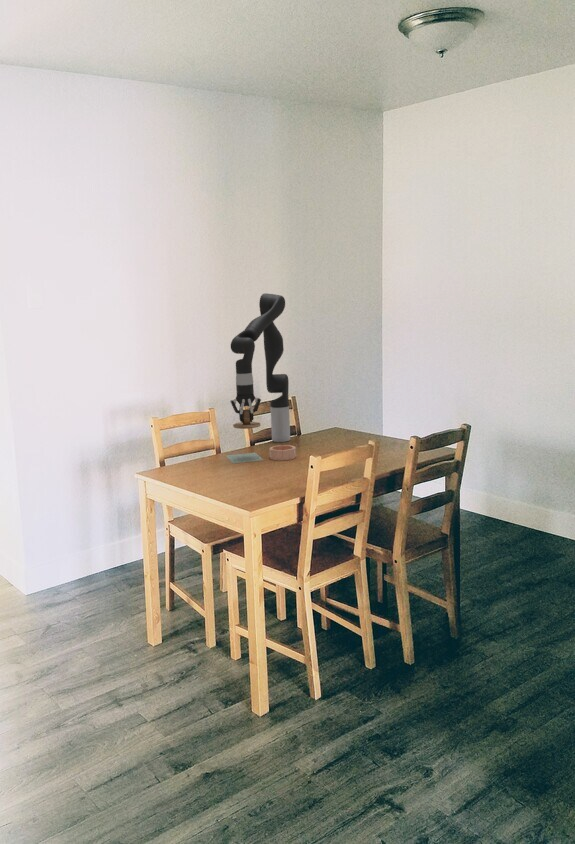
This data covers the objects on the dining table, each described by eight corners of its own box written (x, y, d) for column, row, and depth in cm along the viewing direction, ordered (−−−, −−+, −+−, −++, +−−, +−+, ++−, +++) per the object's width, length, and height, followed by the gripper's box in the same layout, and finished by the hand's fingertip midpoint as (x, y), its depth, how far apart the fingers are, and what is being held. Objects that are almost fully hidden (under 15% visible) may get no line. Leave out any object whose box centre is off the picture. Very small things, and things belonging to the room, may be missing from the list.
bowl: (267, 457, 320) (267, 446, 319) (291, 454, 323) (291, 444, 322) (273, 462, 309) (273, 451, 308) (298, 460, 312) (298, 449, 311)
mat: (225, 456, 324) (225, 455, 324) (255, 453, 328) (255, 452, 328) (232, 464, 309) (232, 463, 309) (263, 461, 313) (263, 459, 313)
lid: (231, 424, 320) (230, 409, 319) (257, 422, 323) (256, 406, 322) (236, 429, 309) (235, 413, 307) (263, 427, 312) (262, 411, 310)
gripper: (258, 381, 318) (260, 419, 321) (227, 383, 314) (229, 421, 317) (262, 383, 311) (264, 421, 314) (230, 385, 307) (232, 424, 310)
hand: (246, 421), depth 316 cm, fingers closed on lid, 3 cm apart
